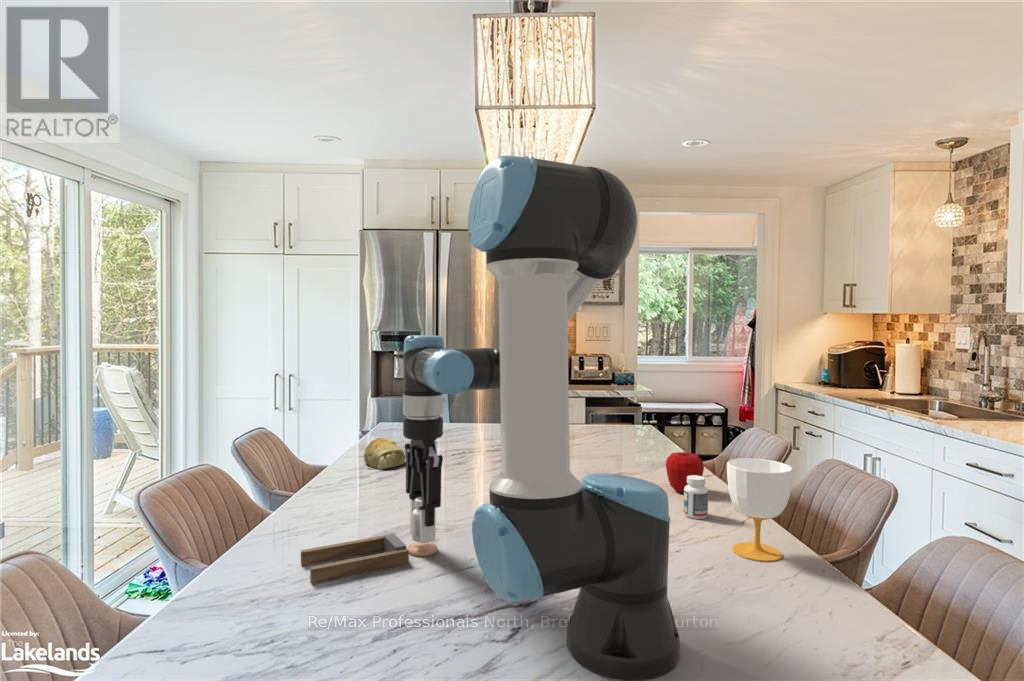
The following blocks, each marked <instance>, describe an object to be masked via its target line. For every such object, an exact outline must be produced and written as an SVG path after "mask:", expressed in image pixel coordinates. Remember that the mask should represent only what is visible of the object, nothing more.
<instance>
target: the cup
mask: <svg viewBox="0 0 1024 681" xmlns="http://www.w3.org/2000/svg"><path fill="white" fill-rule="evenodd" d="M793 471H794V468H793V467H792V466H791V465H789V464H786V463H783V462H781V461H776V460H771V459H765V458H751V457H750V458H749V457H747V458H745V457H744V458H743V457H742V458H733V459H729V460H728V461H727V462H726V475H727V476H726V477H727V478H726V479H727V487H728V488H727V490H728V493H729V496H730V500H731V502H732V503H733V505H734V506H735V508H736V510H737V511H738V512H739V513H741V514H742V515H745V516H746V517H748V518H749V519H751V520H752V519H753V522H754V539H753V542H752V541H751V542H750V541H746V542H738V543H735V544H733V546H732V547H731V549H732V551H733V553H734V554H736V555H737V556H739V557H741V558H745V559H746V560H751V561H755V562H765V563H769V562H777V561H779V560H781V559H782V558H783V556H784V555H783V553H782V552H781V551H780V550H779V549H778V548H775V547H773V546H770V545H768V544H763V543H761V525H762V521H767V520H770V519H773V518H776V517H778V516H780V515H781V514H782V513H783V511H784V510H785V509H786V507H787V505H788V502H789V499H790V495H791V490H792V484H793V474H794V472H793Z"/></svg>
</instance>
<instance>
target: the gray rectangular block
mask: <svg viewBox="0 0 1024 681" xmlns="http://www.w3.org/2000/svg"><path fill="white" fill-rule="evenodd" d="M383 536H384V551H383V553H385V552H391V551H396V550H401V549H406V548H407V545H406V544H405V543H404V541H402V540H401V539H400V538H399V537H398V536H397V535H396V534H395V533H391V534H385V535H383Z"/></svg>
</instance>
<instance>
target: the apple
mask: <svg viewBox="0 0 1024 681" xmlns="http://www.w3.org/2000/svg"><path fill="white" fill-rule="evenodd" d="M665 468H666V476H667V479H668V482H669V485H670V487H671V488H672V489H673V490H674V491H675V492H676V493H680V494H684V488H685V486H687V485H688V483H687V476H690V475H697V476H702V477H704V476H703V474H704V469H705V465H704V461H703V460H702V459H701V458H700V457H699V455H698V454H695V453H691V452H685V450H683V452H682V451H681V452H671V453H670V454H669V456H668V457H666V461H665Z"/></svg>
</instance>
